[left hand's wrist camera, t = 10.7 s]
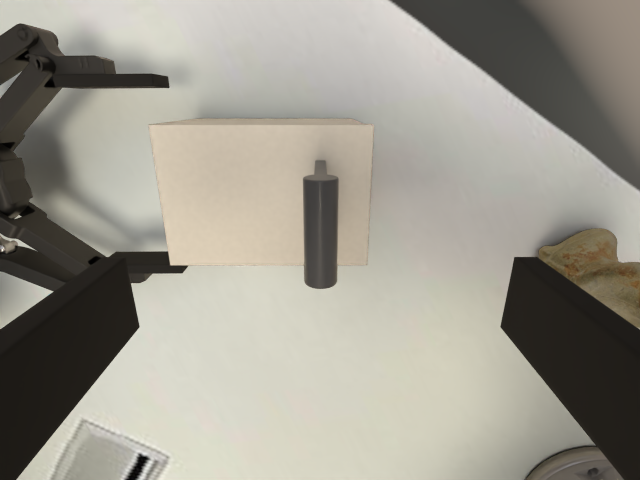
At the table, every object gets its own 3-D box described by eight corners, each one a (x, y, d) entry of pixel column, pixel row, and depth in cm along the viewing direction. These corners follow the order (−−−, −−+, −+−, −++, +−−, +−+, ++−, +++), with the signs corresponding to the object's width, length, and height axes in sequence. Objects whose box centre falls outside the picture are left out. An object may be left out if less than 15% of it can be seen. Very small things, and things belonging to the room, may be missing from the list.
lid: (372, 123, 24) (398, 133, 16) (365, 259, 27) (384, 324, 19) (154, 123, 24) (72, 133, 16) (174, 260, 27) (116, 324, 19)
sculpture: (604, 267, 37) (775, 365, 23) (533, 287, 38) (657, 393, 24) (601, 215, 36) (785, 289, 22) (526, 237, 36) (656, 322, 22)
